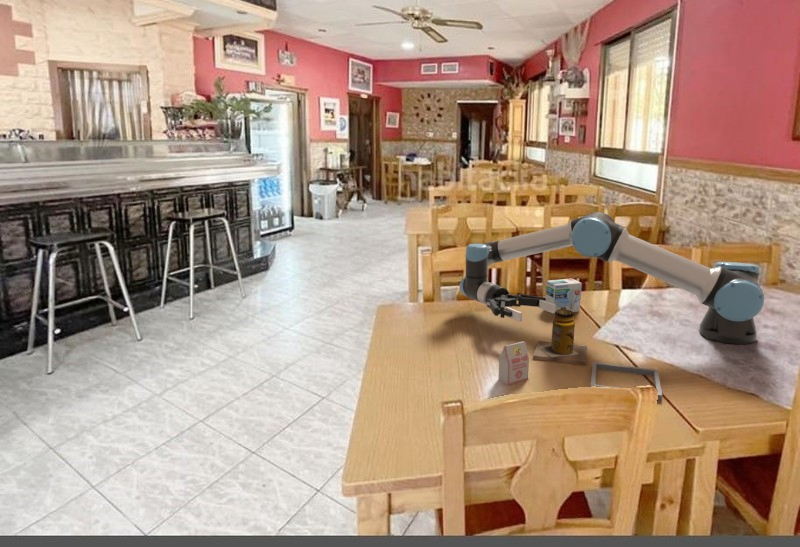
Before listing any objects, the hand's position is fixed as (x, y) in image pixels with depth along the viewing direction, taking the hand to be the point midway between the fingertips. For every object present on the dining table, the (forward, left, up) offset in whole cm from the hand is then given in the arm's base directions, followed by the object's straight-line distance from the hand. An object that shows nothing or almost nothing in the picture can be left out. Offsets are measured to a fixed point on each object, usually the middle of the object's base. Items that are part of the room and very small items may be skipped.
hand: (538, 313), depth 162 cm
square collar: (-24, +20, -10) cm, 33 cm away
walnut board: (-7, +6, -10) cm, 14 cm away
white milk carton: (+3, +27, -10) cm, 29 cm away
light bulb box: (-4, -35, -10) cm, 36 cm away
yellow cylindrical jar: (-7, +7, -9) cm, 13 cm away
